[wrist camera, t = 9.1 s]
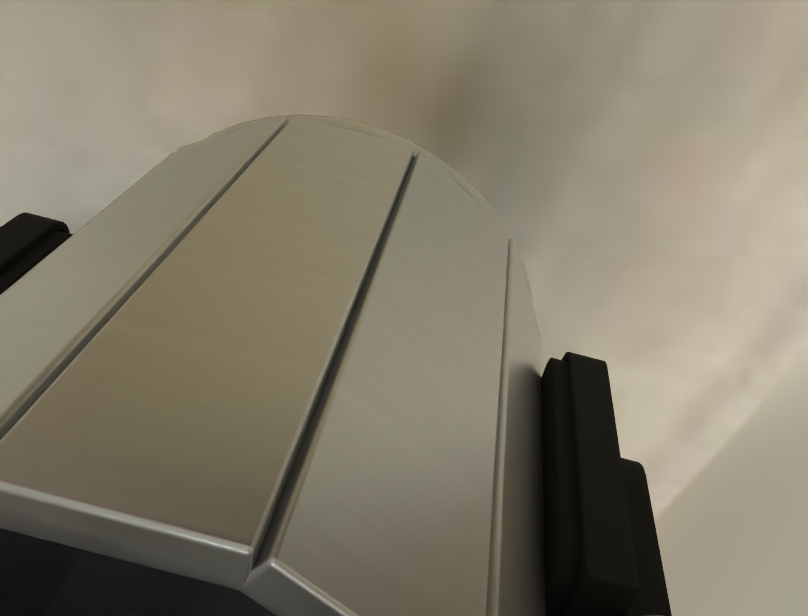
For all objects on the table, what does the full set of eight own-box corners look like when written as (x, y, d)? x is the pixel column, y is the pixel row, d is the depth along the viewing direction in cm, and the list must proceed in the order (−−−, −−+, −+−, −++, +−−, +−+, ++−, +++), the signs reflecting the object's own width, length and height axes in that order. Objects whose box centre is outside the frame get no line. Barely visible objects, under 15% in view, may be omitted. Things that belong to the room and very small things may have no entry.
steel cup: (128, 61, 11) (-461, 365, 4) (594, 180, 11) (690, 666, 4) (124, 420, 14) (-204, 874, 8) (472, 511, 14) (425, 1044, 8)
